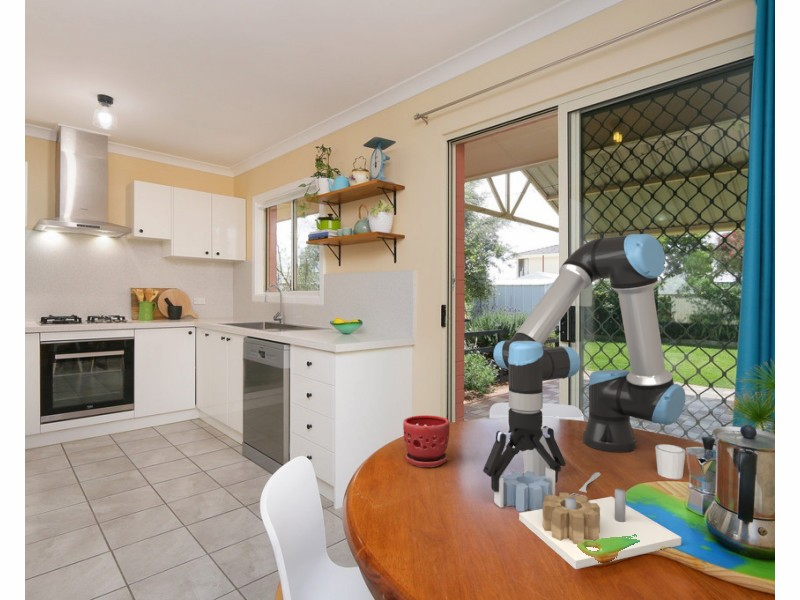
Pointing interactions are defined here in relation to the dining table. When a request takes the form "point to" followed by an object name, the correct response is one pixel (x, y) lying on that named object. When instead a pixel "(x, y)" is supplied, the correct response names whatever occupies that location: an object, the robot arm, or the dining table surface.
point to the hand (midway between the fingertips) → (525, 500)
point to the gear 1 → (525, 490)
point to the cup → (536, 459)
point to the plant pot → (426, 440)
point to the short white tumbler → (670, 461)
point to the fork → (587, 484)
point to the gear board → (606, 530)
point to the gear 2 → (571, 518)
